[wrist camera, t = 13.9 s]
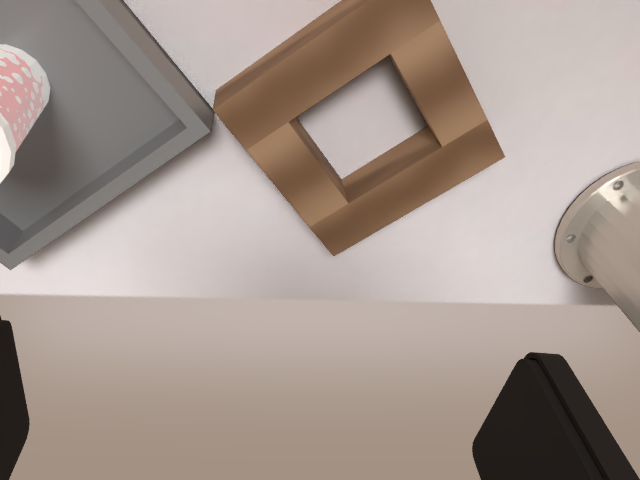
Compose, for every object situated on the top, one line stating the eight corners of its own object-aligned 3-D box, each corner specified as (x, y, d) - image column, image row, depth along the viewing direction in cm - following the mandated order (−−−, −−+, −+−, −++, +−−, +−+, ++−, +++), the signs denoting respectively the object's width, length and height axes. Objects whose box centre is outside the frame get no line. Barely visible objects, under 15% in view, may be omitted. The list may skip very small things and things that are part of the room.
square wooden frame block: (486, 136, 39) (505, 156, 36) (328, 230, 42) (333, 256, 39) (400, -42, 31) (414, -33, 29) (215, 90, 35) (212, 109, 32)
